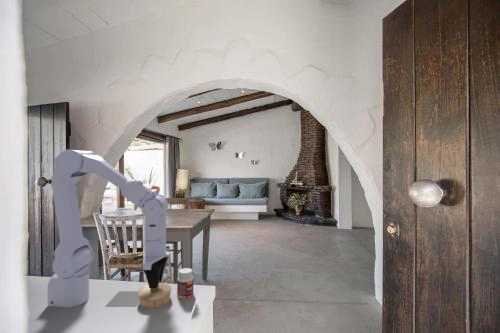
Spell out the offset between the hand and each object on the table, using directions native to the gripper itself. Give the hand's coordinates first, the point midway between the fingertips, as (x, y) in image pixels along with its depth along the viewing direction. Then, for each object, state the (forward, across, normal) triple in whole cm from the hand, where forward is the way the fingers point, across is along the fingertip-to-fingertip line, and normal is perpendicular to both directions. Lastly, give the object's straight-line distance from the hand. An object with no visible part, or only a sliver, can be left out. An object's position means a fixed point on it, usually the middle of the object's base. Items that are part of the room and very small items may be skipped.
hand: (155, 284), depth 77 cm
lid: (+2, 0, 0) cm, 2 cm away
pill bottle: (+6, +3, -8) cm, 10 cm away
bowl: (+5, 0, 0) cm, 5 cm away
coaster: (+5, +1, +8) cm, 10 cm away
